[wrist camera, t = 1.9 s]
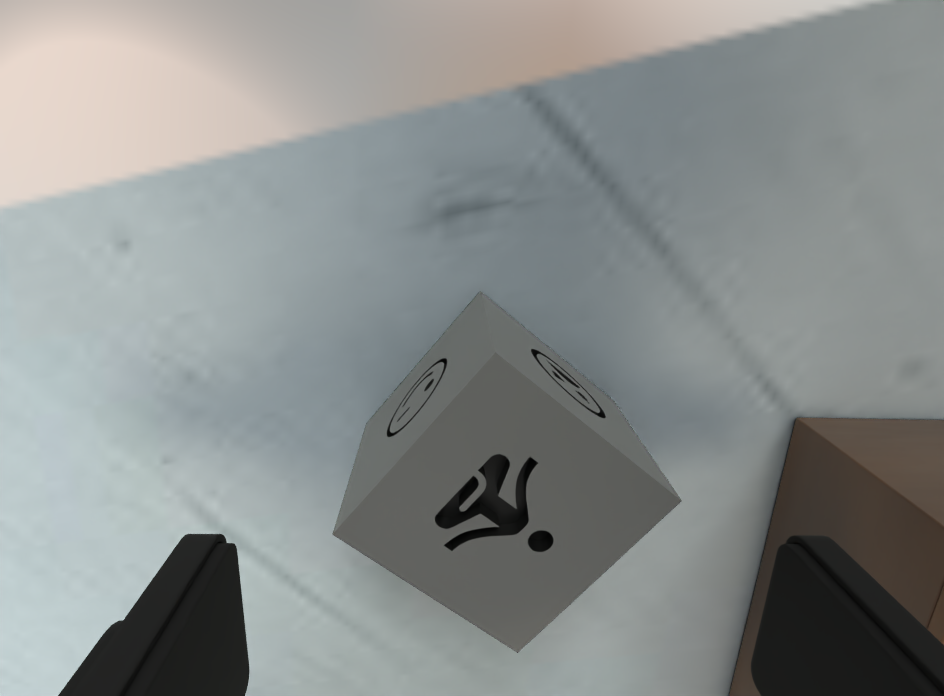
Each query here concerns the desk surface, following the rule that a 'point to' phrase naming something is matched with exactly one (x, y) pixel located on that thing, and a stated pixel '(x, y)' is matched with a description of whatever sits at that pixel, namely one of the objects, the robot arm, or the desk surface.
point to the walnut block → (862, 512)
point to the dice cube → (500, 479)
